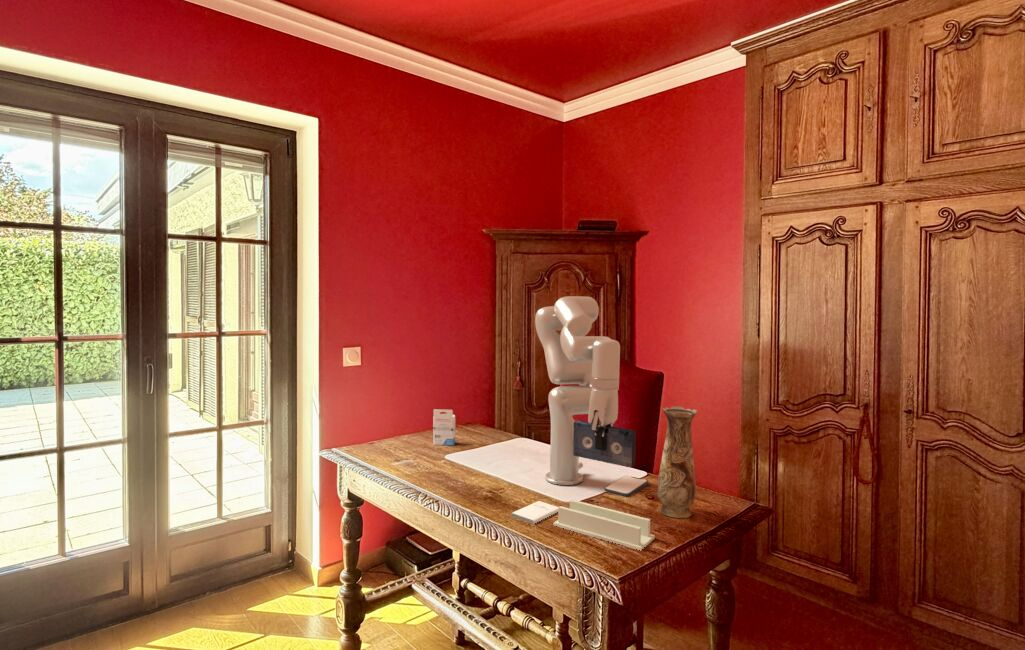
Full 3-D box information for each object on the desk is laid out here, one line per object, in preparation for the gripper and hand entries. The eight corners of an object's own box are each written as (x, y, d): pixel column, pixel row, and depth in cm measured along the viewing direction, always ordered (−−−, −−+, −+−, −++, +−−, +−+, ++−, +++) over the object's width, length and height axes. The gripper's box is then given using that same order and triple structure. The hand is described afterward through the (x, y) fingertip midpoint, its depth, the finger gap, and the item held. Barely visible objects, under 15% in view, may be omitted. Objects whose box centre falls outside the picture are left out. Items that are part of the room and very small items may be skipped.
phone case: (627, 499, 174) (649, 485, 187) (627, 494, 174) (649, 480, 187) (602, 493, 180) (625, 479, 192) (602, 488, 180) (625, 474, 192)
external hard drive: (510, 518, 158) (538, 505, 168) (533, 526, 153) (560, 512, 163) (510, 512, 158) (538, 500, 168) (533, 520, 153) (560, 507, 162)
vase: (650, 512, 163) (653, 409, 161) (668, 502, 170) (671, 404, 169) (684, 522, 156) (687, 415, 154) (701, 511, 163) (704, 409, 162)
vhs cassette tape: (635, 465, 155) (636, 430, 154) (631, 468, 153) (631, 432, 152) (577, 453, 166) (578, 419, 165) (572, 455, 164) (572, 421, 163)
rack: (569, 515, 160) (570, 497, 159) (654, 538, 145) (655, 519, 145) (553, 525, 152) (553, 507, 152) (641, 551, 138) (641, 531, 138)
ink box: (455, 442, 235) (455, 407, 234) (453, 445, 230) (453, 410, 229) (435, 441, 236) (435, 406, 235) (432, 444, 231) (432, 409, 230)
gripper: (605, 378, 167) (603, 439, 168) (579, 386, 153) (577, 452, 155) (629, 381, 162) (627, 444, 164) (604, 389, 149) (602, 457, 150)
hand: (603, 447), depth 159 cm, fingers closed on vhs cassette tape, 2 cm apart
